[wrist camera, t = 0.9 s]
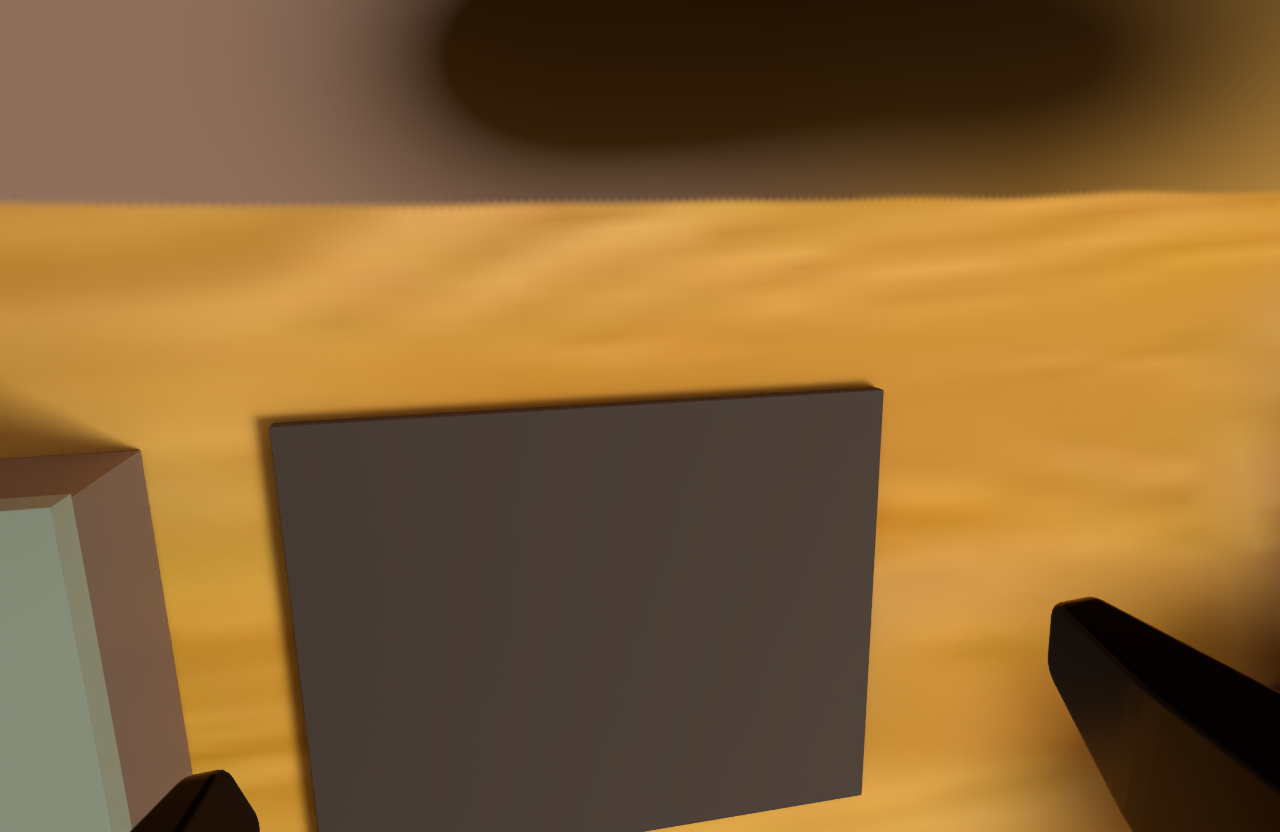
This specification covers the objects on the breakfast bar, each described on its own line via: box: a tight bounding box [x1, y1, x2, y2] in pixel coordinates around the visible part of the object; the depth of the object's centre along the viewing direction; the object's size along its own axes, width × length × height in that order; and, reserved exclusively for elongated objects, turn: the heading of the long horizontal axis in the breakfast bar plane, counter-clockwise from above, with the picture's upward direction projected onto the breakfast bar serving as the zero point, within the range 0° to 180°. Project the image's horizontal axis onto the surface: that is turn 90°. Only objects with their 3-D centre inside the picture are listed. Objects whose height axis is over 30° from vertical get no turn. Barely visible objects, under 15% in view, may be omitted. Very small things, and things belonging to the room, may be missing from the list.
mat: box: [269, 388, 884, 832], centre depth 23 cm, size 16×13×1 cm
